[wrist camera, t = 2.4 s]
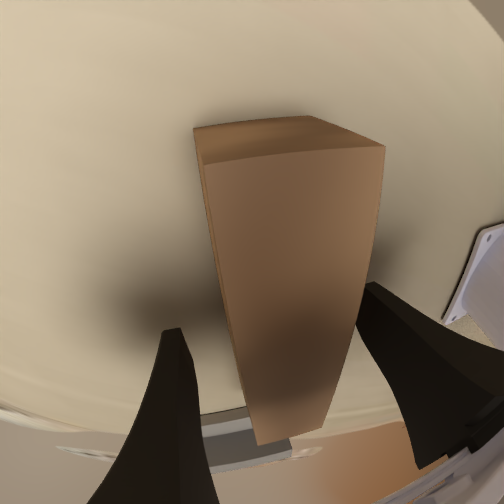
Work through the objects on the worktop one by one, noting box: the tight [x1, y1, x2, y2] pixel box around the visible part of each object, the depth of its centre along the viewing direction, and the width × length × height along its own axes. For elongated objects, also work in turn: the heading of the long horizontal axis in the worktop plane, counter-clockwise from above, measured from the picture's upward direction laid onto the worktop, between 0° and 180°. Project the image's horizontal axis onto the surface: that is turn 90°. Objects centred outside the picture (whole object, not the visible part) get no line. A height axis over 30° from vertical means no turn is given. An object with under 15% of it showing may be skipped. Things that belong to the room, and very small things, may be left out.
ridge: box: [200, 407, 292, 474], centre depth 18 cm, size 9×7×3 cm
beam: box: [193, 116, 386, 446], centre depth 10 cm, size 4×14×4 cm, turn 5°
